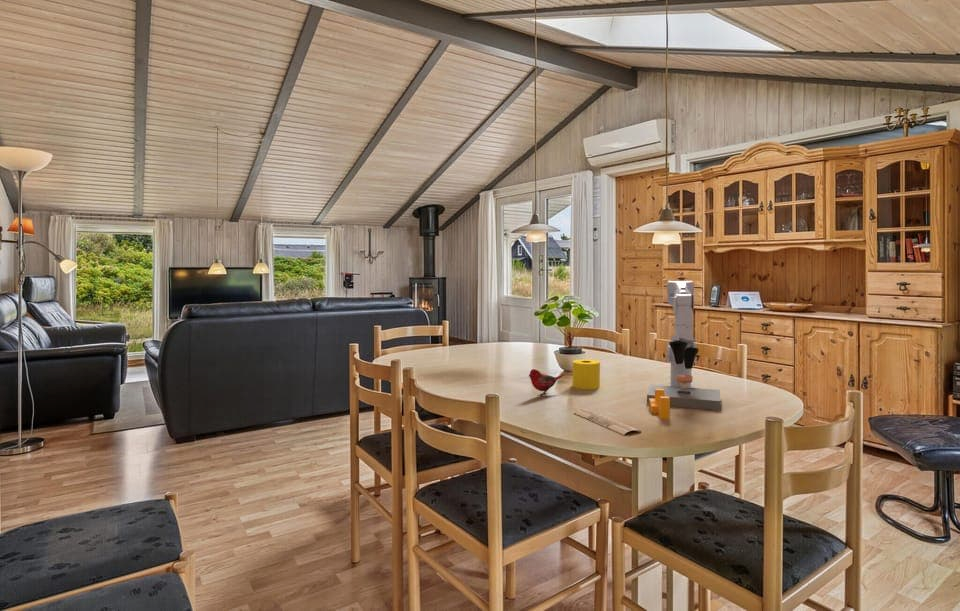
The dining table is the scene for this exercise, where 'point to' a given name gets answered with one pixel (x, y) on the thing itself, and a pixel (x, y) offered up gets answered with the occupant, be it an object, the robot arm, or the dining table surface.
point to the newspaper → (606, 421)
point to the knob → (684, 380)
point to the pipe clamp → (660, 404)
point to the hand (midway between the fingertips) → (684, 366)
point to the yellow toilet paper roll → (586, 374)
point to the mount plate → (689, 397)
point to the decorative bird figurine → (542, 381)
